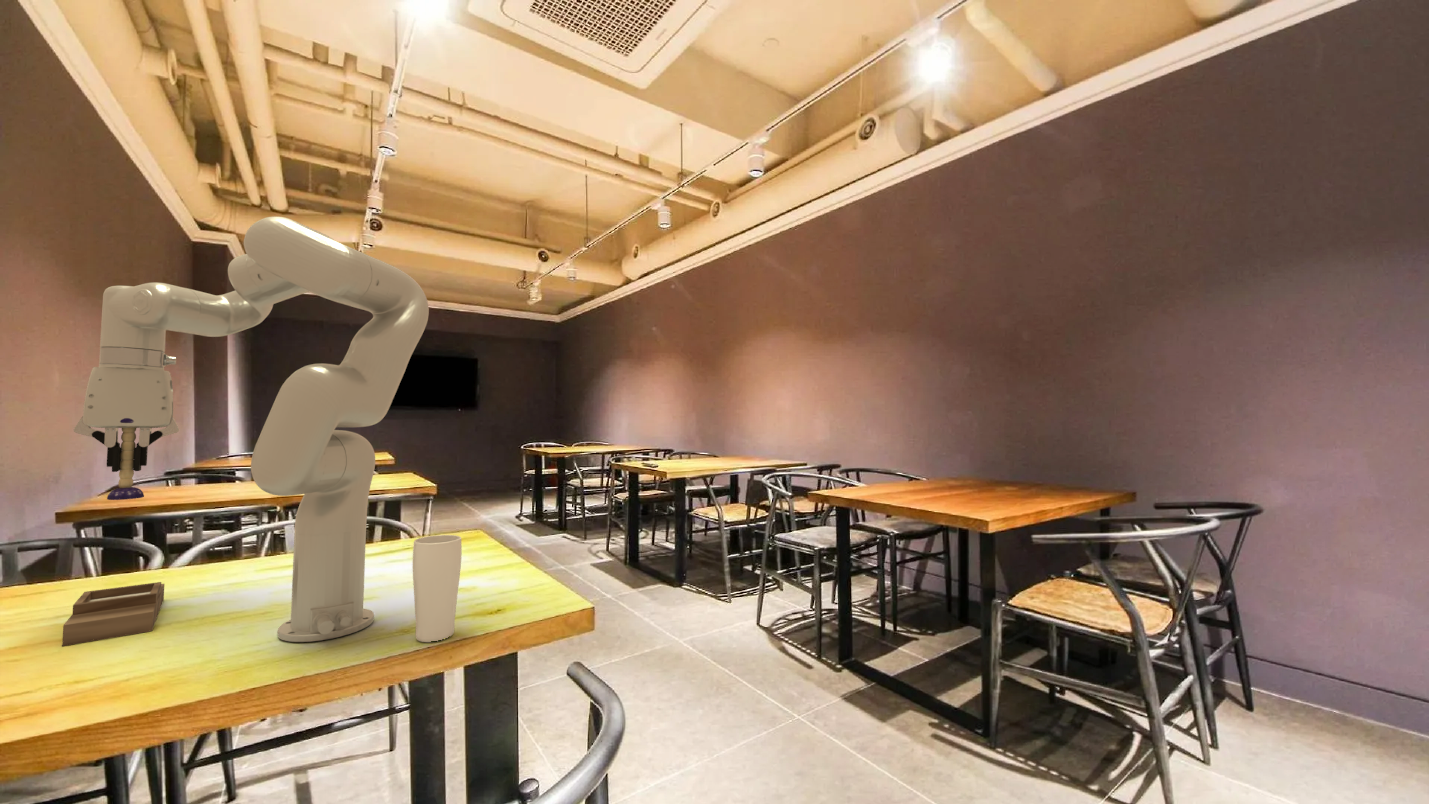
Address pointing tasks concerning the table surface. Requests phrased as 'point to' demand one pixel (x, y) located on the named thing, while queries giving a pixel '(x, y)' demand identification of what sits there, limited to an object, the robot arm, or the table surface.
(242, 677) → the table surface
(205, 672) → the table surface
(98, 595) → the display stand
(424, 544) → the drinking glass
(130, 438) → the toy lamp
